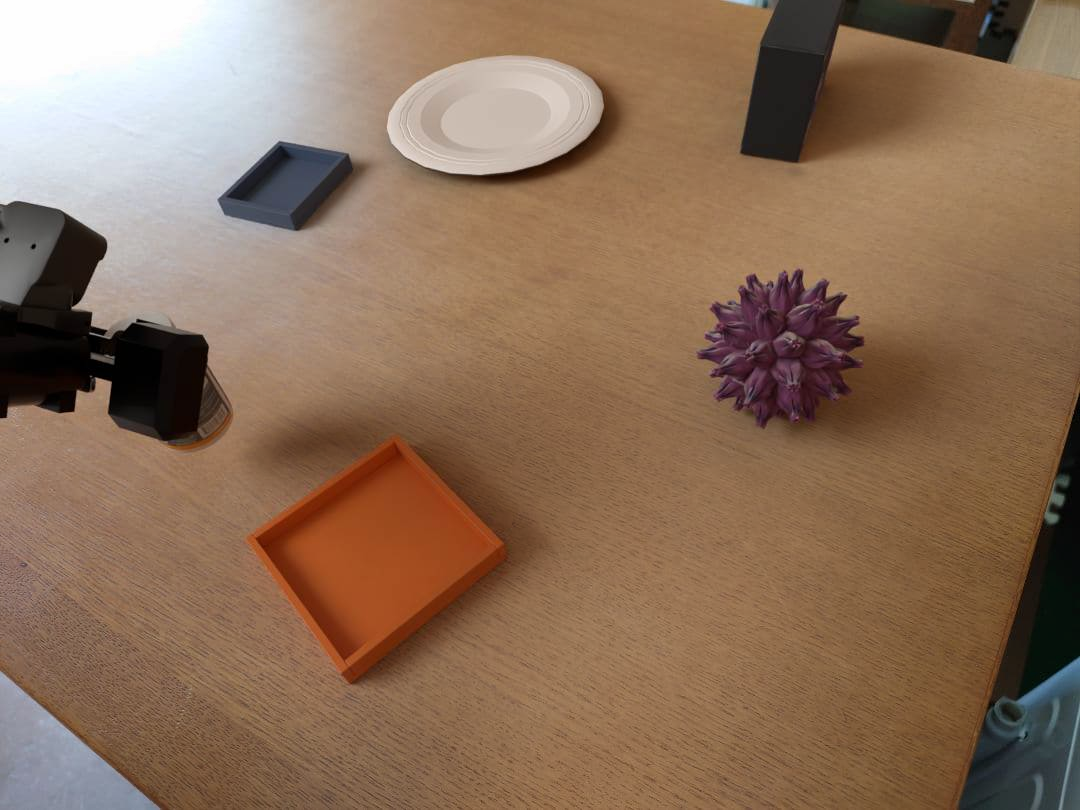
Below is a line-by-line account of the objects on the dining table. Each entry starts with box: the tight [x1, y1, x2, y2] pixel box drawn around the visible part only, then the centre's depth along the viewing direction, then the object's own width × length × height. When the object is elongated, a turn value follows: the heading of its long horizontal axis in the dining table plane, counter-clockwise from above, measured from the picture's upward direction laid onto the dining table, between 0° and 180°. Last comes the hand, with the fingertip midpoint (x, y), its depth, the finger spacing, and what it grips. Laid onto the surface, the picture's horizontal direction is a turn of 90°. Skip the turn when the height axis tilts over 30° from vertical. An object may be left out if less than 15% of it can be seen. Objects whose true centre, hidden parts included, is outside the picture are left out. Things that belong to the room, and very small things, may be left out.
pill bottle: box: [104, 310, 234, 454], centre depth 55 cm, size 6×6×10 cm
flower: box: [696, 268, 866, 430], centre depth 57 cm, size 12×12×12 cm
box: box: [739, 0, 846, 163], centre depth 81 cm, size 17×7×12 cm, turn 158°
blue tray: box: [217, 140, 354, 232], centre depth 84 cm, size 11×9×2 cm
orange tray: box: [244, 433, 508, 685], centre depth 55 cm, size 13×13×2 cm
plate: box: [386, 54, 605, 177], centre depth 89 cm, size 25×25×2 cm
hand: (172, 354), depth 55 cm, fingers closed on pill bottle, 5 cm apart
